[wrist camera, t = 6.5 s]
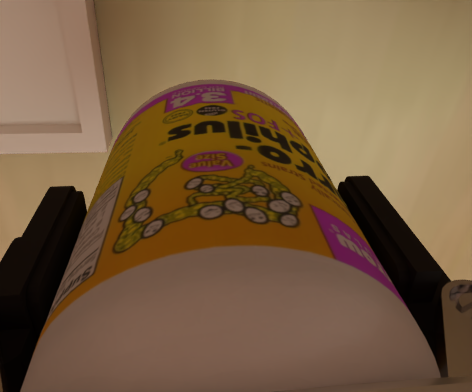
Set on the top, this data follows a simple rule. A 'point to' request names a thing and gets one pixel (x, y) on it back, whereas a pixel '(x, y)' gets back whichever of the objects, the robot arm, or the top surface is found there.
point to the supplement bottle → (221, 264)
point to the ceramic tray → (51, 78)
